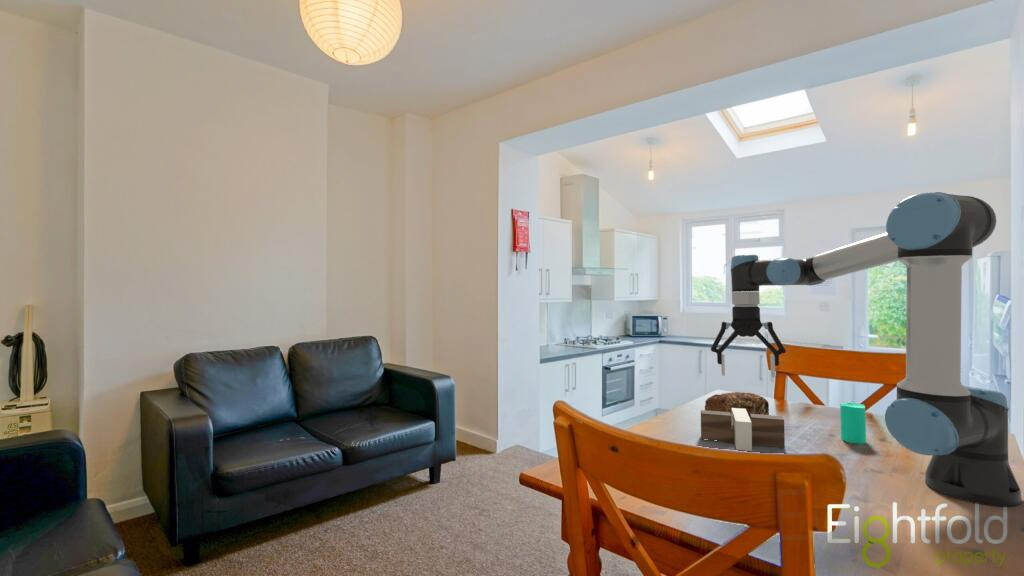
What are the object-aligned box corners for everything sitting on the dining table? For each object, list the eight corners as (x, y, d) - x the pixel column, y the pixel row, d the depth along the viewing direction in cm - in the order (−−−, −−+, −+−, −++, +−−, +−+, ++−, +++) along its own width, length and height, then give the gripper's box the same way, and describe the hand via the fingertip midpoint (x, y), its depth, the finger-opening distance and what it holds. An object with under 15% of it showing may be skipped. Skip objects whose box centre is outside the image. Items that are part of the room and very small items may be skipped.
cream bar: (752, 451, 131) (751, 422, 131) (736, 449, 132) (735, 421, 132) (746, 434, 146) (745, 408, 146) (731, 433, 147) (731, 407, 147)
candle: (857, 437, 142) (856, 397, 142) (870, 443, 136) (870, 402, 136) (836, 437, 142) (835, 397, 142) (848, 443, 136) (848, 402, 136)
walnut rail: (784, 447, 133) (784, 419, 133) (701, 439, 141) (700, 413, 141) (782, 443, 137) (781, 416, 137) (701, 436, 145) (700, 410, 145)
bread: (726, 429, 152) (726, 398, 152) (703, 421, 162) (702, 392, 162) (771, 423, 158) (770, 393, 158) (745, 415, 168) (745, 387, 168)
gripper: (790, 305, 142) (792, 375, 141) (701, 306, 151) (703, 372, 150) (795, 305, 135) (797, 379, 134) (701, 306, 144) (703, 376, 143)
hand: (747, 376), depth 142 cm, fingers open, 13 cm apart
